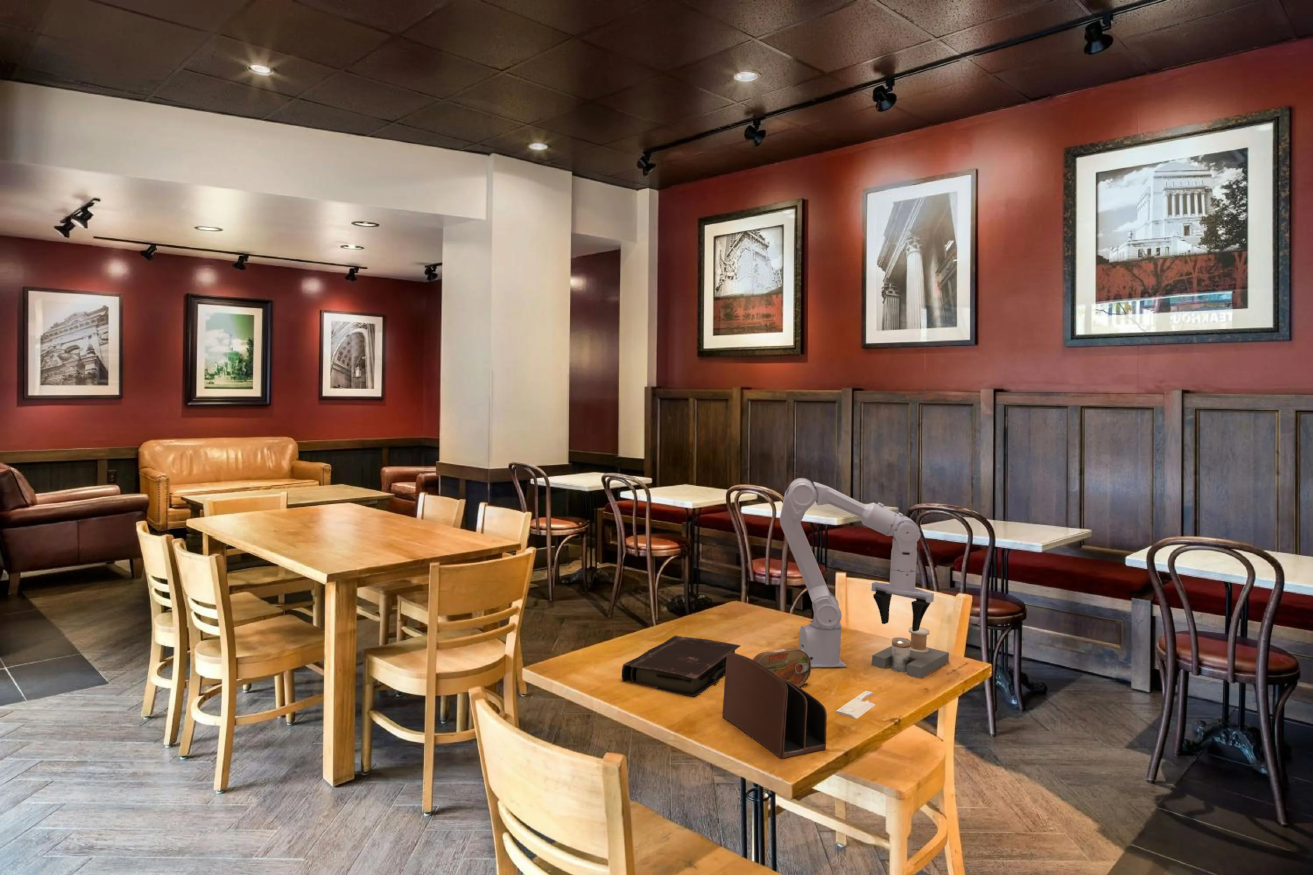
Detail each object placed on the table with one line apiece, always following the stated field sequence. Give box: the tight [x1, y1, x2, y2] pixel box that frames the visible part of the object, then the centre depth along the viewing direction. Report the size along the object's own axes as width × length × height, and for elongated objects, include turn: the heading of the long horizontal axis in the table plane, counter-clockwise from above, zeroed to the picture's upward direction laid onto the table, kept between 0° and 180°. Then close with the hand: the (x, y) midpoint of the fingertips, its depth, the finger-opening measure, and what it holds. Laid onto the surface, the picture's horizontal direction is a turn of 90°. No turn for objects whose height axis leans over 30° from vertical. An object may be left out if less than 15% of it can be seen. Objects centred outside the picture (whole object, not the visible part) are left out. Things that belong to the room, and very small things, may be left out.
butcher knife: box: [835, 690, 876, 720], centre depth 167 cm, size 5×15×1 cm, turn 142°
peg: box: [890, 637, 911, 673], centre depth 189 cm, size 4×4×7 cm
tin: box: [752, 647, 812, 688], centre depth 175 cm, size 15×3×8 cm, turn 117°
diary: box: [621, 635, 741, 697], centre depth 183 cm, size 19×25×5 cm
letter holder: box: [721, 652, 828, 760], centre depth 151 cm, size 10×20×14 cm, turn 27°
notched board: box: [871, 626, 950, 679], centre depth 193 cm, size 16×12×8 cm
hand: (900, 626), depth 190 cm, fingers open, 7 cm apart
